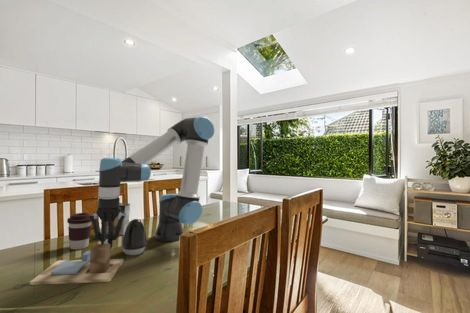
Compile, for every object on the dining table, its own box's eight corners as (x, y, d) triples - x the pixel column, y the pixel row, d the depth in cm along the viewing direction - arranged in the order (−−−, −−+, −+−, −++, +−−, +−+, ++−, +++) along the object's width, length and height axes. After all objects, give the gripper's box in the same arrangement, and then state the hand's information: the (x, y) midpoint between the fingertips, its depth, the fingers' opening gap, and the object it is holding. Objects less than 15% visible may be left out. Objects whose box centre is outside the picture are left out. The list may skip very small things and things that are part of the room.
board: (123, 262, 98) (123, 258, 98) (109, 283, 82) (109, 278, 82) (57, 264, 94) (57, 260, 94) (29, 286, 78) (29, 281, 78)
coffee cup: (79, 252, 106) (81, 217, 106) (60, 249, 108) (61, 215, 108) (96, 244, 115) (98, 213, 115) (78, 242, 117) (80, 211, 117)
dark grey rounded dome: (121, 260, 100) (123, 223, 100) (120, 250, 109) (122, 217, 109) (147, 256, 105) (149, 221, 105) (144, 247, 114) (146, 215, 114)
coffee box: (106, 234, 130) (108, 204, 130) (113, 231, 136) (114, 202, 137) (123, 235, 130) (124, 205, 130) (129, 231, 136) (130, 203, 136)
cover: (91, 258, 96) (91, 250, 96) (76, 273, 84) (76, 264, 84) (69, 259, 94) (69, 251, 94) (50, 274, 82) (51, 265, 82)
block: (109, 267, 92) (110, 243, 92) (104, 274, 87) (105, 248, 87) (95, 268, 91) (96, 244, 91) (89, 274, 86) (90, 249, 86)
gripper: (129, 196, 100) (126, 253, 100) (95, 195, 98) (92, 254, 98) (124, 199, 93) (121, 261, 93) (87, 198, 91) (83, 262, 90)
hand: (106, 257), depth 95 cm, fingers closed
